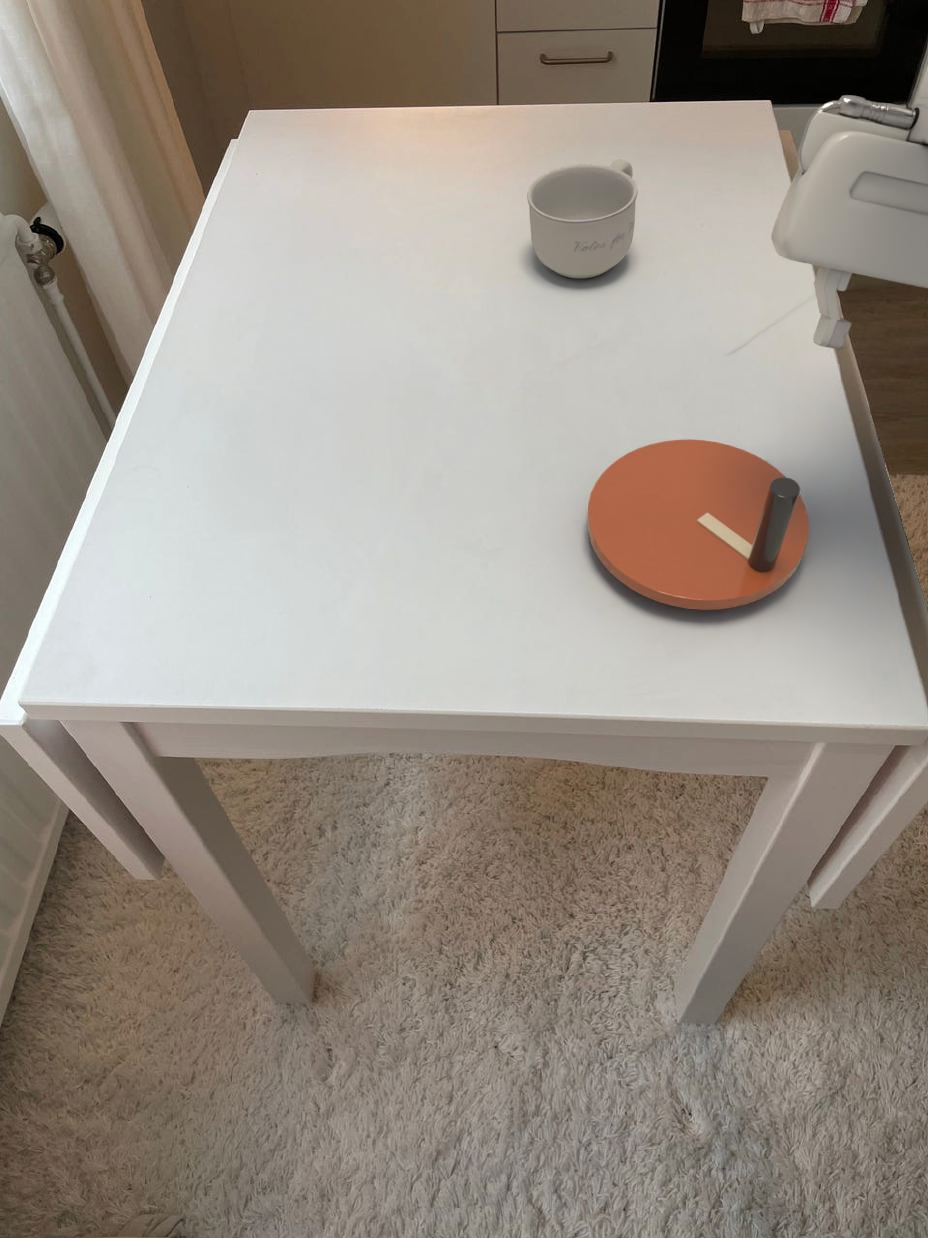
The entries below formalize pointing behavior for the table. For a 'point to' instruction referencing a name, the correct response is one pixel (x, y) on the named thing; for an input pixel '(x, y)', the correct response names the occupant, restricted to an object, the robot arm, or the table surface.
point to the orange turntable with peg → (697, 524)
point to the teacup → (583, 217)
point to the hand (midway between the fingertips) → (895, 360)
